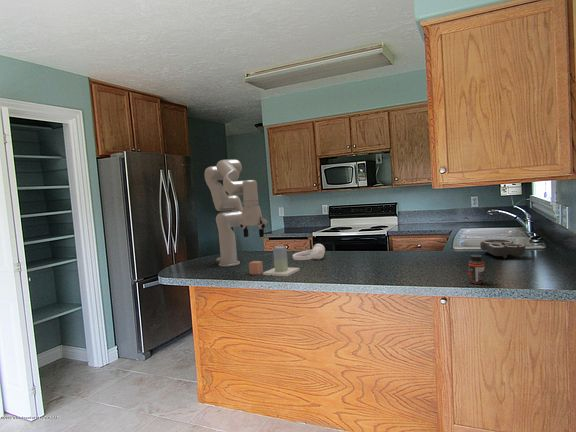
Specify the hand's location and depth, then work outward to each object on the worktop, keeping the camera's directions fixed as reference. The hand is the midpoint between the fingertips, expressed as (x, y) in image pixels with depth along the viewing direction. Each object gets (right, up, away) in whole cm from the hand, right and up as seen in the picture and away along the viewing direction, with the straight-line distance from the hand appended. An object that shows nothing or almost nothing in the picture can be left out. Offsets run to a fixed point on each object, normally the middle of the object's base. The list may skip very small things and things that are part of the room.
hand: (253, 236), depth 211 cm
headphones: (+30, -15, +35) cm, 48 cm away
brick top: (+1, -19, +2) cm, 19 cm away
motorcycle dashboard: (+130, -10, +3) cm, 131 cm away
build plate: (+14, -19, -1) cm, 24 cm away
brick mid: (+14, -11, -2) cm, 18 cm away
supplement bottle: (+95, -17, -46) cm, 107 cm away
